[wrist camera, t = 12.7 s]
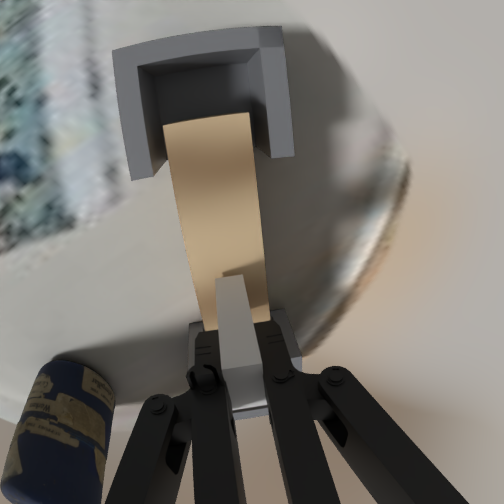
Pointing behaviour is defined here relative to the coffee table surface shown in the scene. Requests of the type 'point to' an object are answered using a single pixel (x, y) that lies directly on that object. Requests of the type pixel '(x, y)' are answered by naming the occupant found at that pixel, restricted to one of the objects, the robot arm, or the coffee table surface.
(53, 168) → the coffee table surface
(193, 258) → the slat
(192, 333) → the endcap
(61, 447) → the canister
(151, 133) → the endcap
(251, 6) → the coffee table surface
